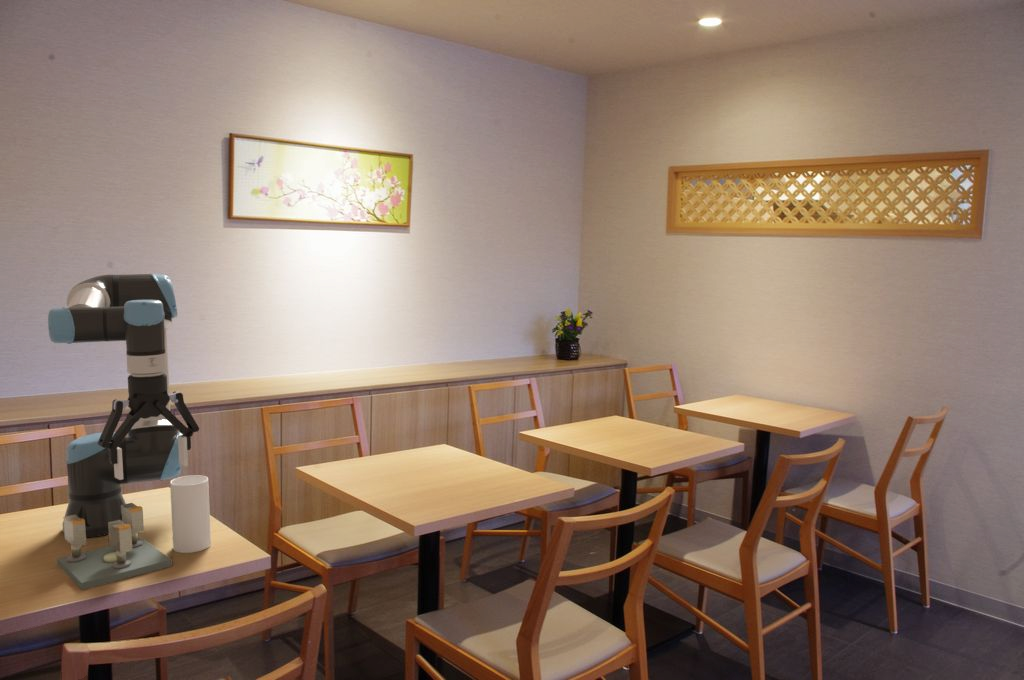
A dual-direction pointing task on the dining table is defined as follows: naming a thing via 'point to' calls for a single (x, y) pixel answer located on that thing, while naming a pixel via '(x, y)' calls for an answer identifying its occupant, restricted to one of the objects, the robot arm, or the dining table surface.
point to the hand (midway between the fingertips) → (152, 471)
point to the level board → (112, 564)
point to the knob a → (75, 533)
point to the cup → (190, 513)
